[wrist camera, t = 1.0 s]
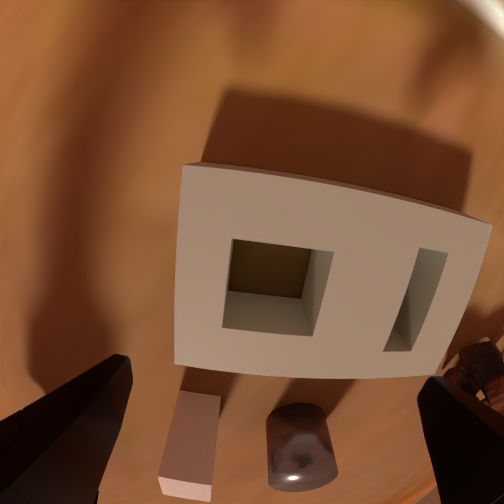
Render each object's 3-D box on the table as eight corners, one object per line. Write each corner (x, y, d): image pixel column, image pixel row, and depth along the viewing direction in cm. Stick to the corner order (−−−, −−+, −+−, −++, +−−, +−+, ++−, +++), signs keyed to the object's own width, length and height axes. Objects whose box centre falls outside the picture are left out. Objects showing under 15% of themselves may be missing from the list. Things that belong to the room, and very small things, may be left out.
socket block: (188, 324, 18) (174, 363, 14) (200, 161, 15) (183, 164, 11) (410, 340, 19) (434, 374, 15) (453, 209, 16) (492, 225, 12)
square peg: (180, 414, 21) (162, 494, 14) (179, 389, 20) (157, 476, 13) (218, 420, 21) (210, 501, 14) (220, 396, 20) (211, 485, 13)
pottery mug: (508, 338, 20) (526, 408, 15) (441, 376, 27) (453, 439, 21) (474, 328, 16) (499, 433, 11) (382, 377, 22) (394, 464, 17)
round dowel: (261, 436, 22) (263, 492, 17) (271, 401, 21) (275, 464, 15) (315, 437, 22) (325, 490, 17) (332, 402, 21) (348, 461, 15)
